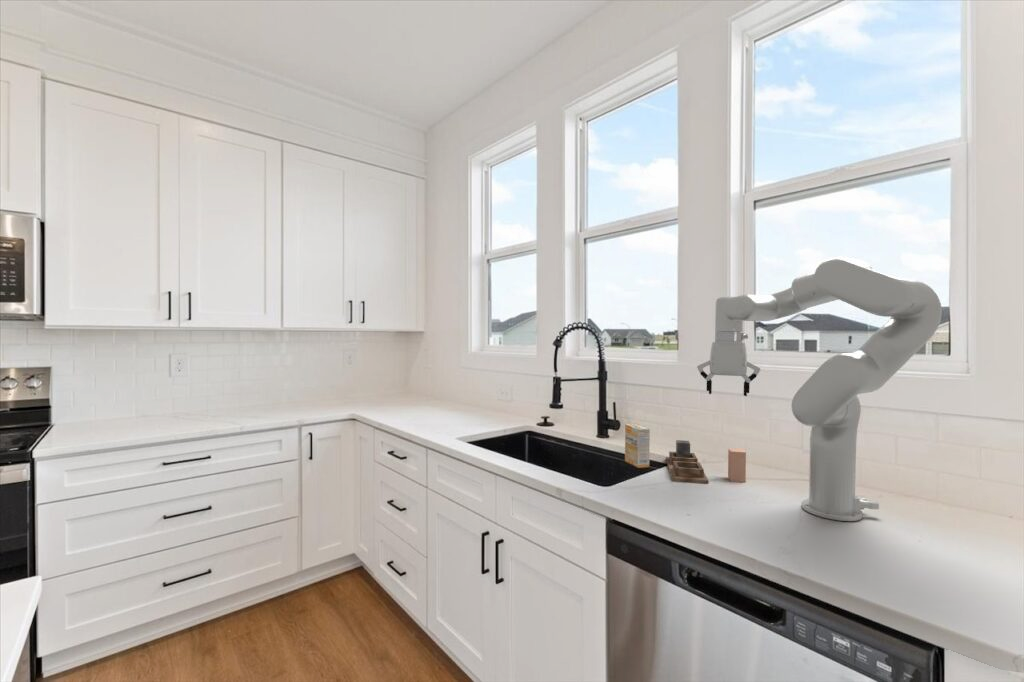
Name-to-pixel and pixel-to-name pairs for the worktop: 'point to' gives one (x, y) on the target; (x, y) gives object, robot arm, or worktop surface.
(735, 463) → the terracotta plug
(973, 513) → the worktop surface
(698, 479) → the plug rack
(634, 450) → the supplement box
